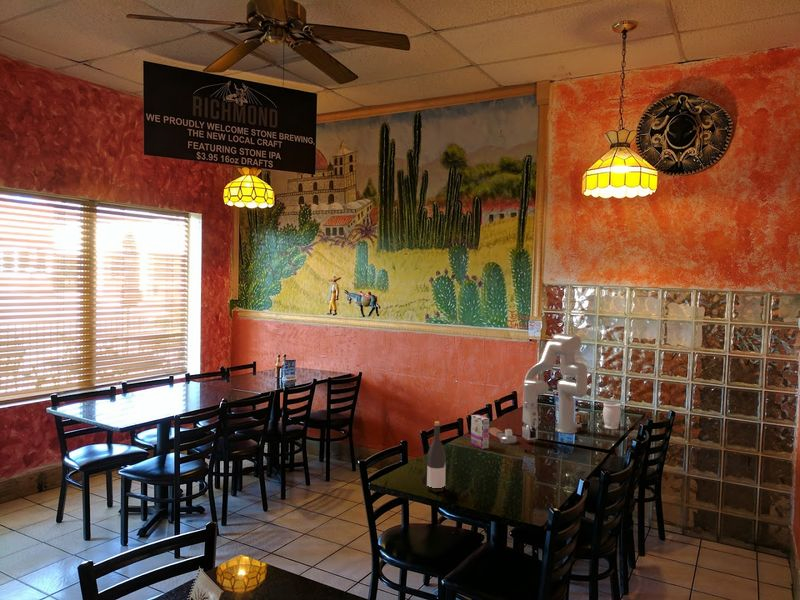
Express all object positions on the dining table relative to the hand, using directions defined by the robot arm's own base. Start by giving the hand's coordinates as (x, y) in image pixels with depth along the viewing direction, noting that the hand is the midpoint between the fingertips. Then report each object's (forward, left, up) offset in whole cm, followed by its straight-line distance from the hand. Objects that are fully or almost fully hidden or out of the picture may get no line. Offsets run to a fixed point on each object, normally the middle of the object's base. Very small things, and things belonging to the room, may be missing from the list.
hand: (529, 435), depth 332 cm
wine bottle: (+76, +52, -4) cm, 92 cm away
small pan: (+11, -13, -4) cm, 18 cm away
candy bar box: (+30, -2, -4) cm, 30 cm away
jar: (-66, -16, -4) cm, 68 cm away
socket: (0, 0, -1) cm, 1 cm away
